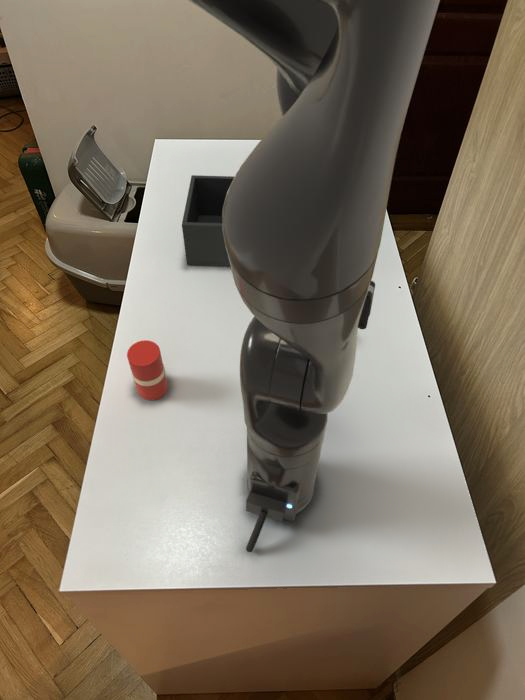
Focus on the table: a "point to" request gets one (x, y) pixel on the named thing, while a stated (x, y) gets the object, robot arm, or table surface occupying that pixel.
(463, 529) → the table surface
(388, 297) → the table surface
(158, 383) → the red cylinder
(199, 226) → the bin
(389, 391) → the table surface
